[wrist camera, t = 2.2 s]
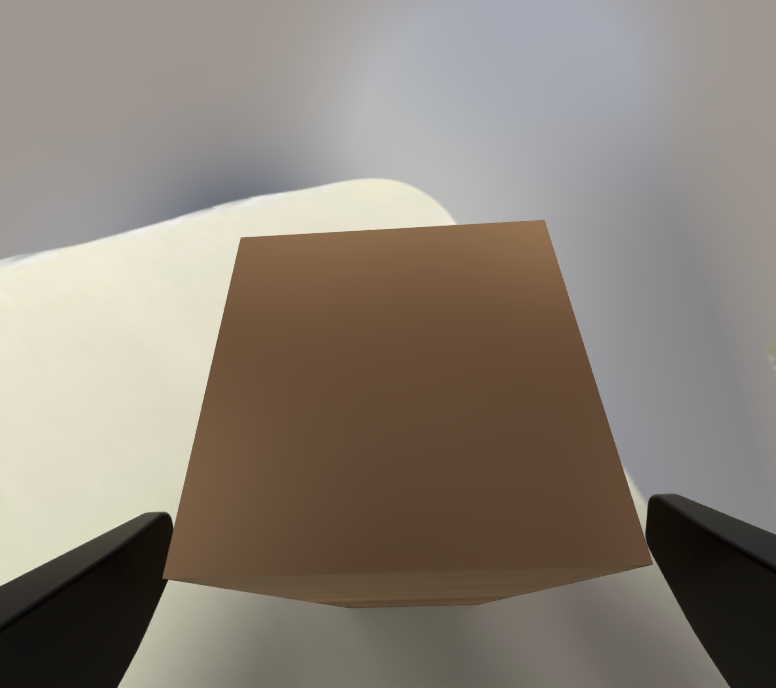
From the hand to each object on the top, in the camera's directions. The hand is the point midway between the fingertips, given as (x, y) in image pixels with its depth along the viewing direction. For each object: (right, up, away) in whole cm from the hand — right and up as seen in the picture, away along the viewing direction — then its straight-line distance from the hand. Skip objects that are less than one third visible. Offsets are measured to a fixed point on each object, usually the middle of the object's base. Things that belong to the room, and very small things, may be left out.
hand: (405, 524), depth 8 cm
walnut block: (0, -4, +8) cm, 9 cm away
